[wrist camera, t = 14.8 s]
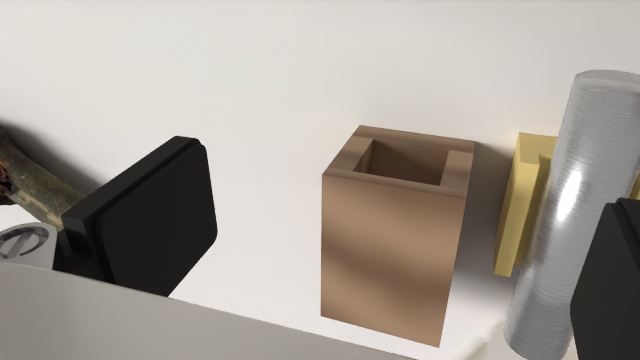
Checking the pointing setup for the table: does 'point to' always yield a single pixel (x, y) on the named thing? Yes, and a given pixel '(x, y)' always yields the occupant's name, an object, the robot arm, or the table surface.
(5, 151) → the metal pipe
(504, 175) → the table surface
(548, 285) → the steel axle
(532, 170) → the ochre V-block
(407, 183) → the walnut block
